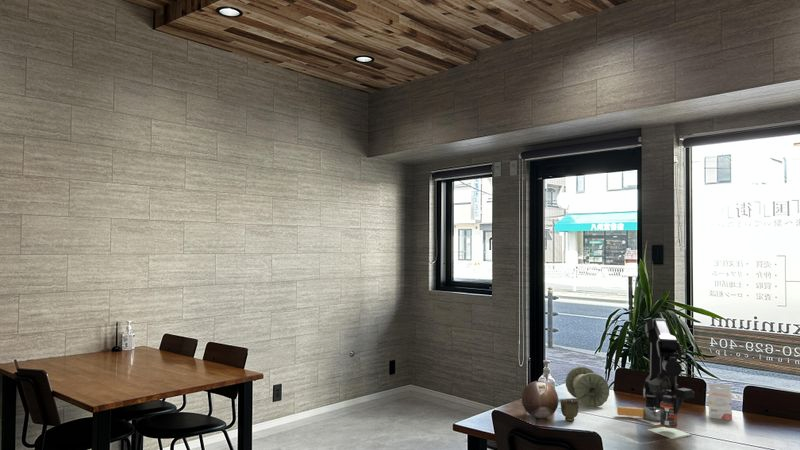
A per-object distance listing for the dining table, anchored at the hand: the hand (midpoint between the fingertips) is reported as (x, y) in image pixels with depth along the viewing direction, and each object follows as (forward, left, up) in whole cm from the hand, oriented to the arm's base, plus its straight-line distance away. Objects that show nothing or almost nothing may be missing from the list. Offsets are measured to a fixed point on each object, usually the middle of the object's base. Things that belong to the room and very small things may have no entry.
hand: (668, 411), depth 222 cm
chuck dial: (-5, -18, -8) cm, 20 cm away
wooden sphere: (+32, -37, -8) cm, 50 cm away
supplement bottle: (0, 0, -6) cm, 6 cm away
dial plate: (-9, -15, -8) cm, 19 cm away
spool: (-4, -48, -9) cm, 49 cm away
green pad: (0, 0, -8) cm, 8 cm away
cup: (+24, -28, -8) cm, 38 cm away
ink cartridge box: (-38, -6, -8) cm, 39 cm away
